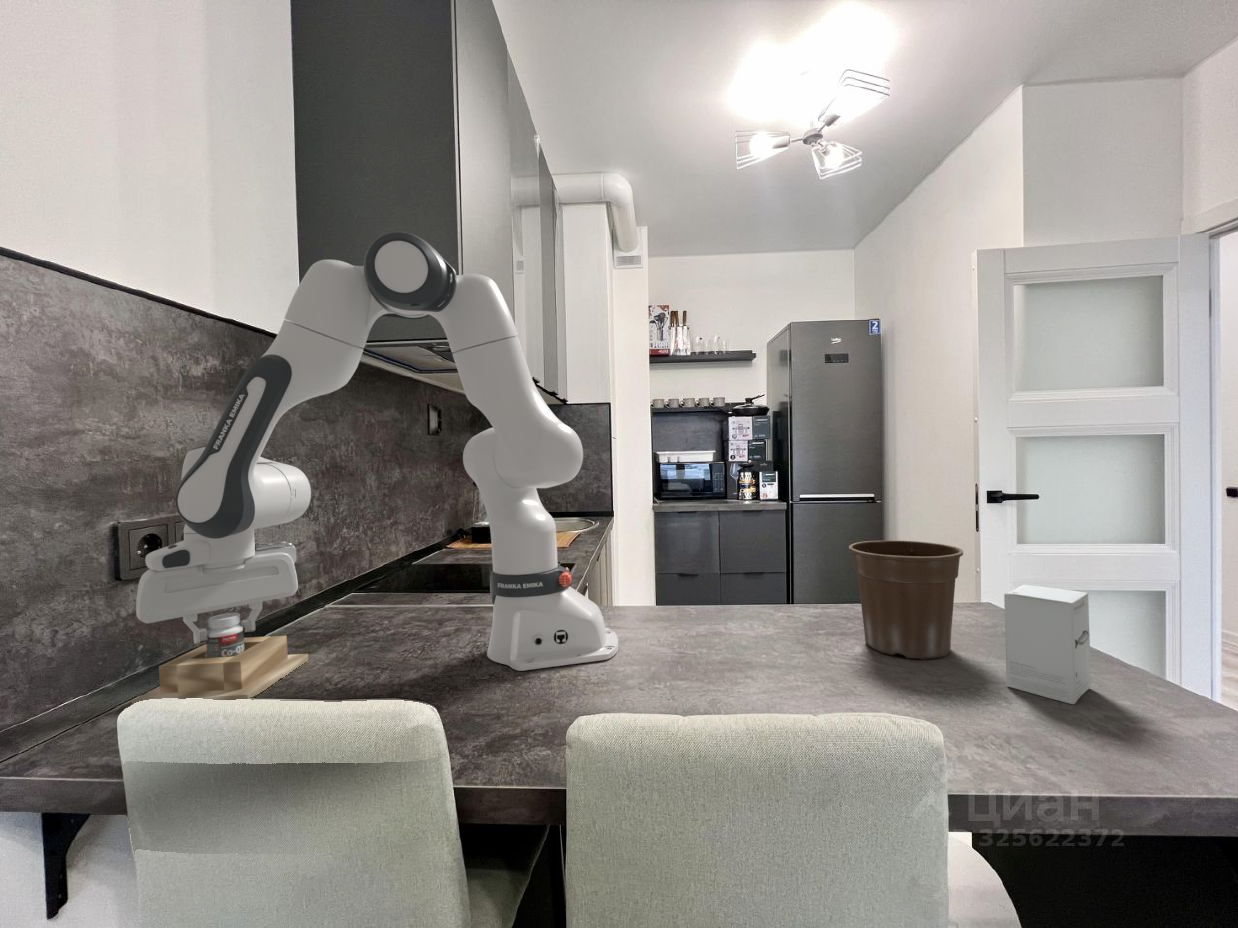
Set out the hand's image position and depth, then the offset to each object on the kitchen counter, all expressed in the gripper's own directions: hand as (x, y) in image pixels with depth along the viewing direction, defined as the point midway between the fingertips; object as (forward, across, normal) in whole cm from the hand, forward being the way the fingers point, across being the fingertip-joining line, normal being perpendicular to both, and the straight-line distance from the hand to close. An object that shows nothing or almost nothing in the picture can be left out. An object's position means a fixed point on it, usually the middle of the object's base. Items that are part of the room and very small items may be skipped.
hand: (225, 636), depth 84 cm
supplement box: (+8, -70, +96) cm, 119 cm away
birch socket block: (+7, 0, 0) cm, 7 cm away
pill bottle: (+5, 0, 0) cm, 5 cm away
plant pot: (+8, -75, +77) cm, 108 cm away
